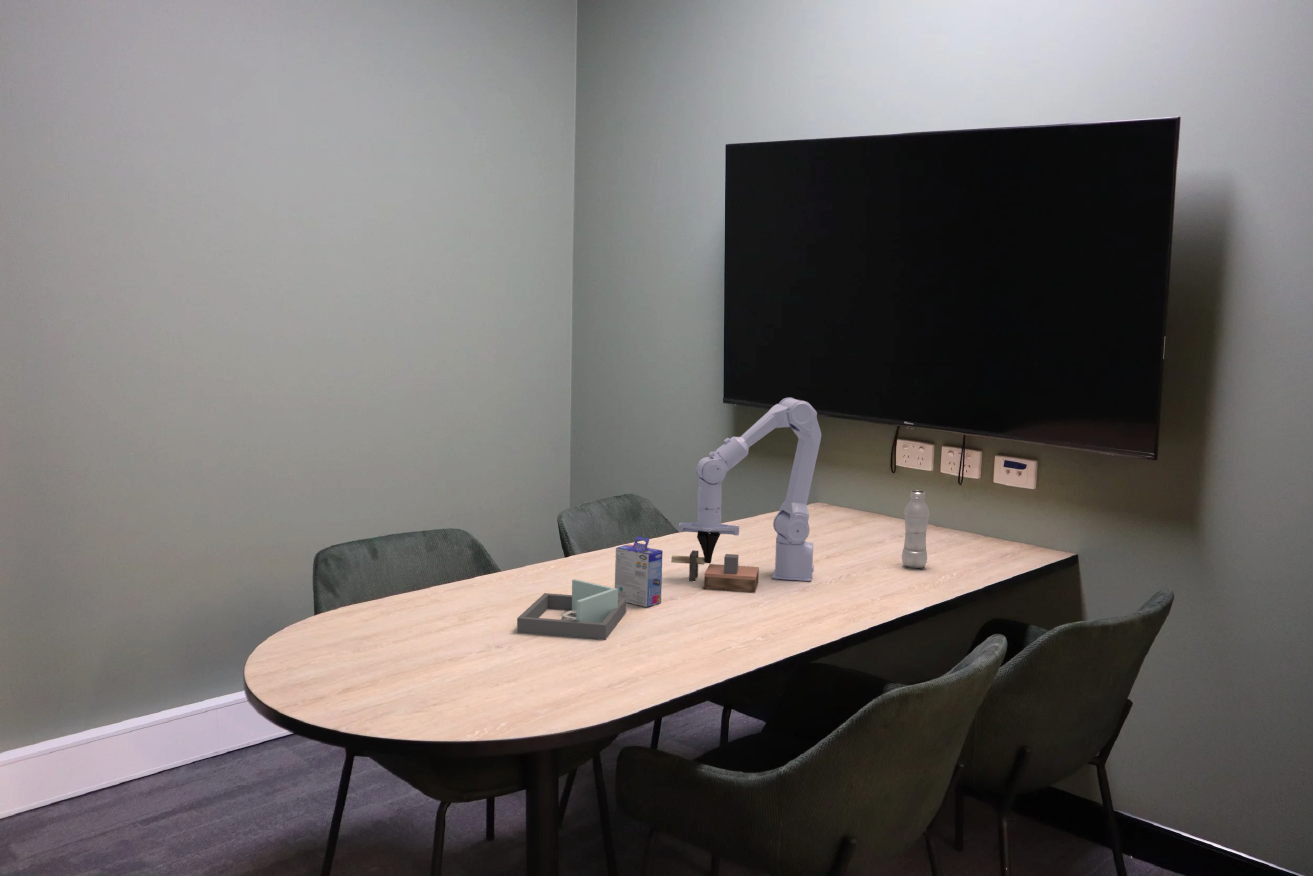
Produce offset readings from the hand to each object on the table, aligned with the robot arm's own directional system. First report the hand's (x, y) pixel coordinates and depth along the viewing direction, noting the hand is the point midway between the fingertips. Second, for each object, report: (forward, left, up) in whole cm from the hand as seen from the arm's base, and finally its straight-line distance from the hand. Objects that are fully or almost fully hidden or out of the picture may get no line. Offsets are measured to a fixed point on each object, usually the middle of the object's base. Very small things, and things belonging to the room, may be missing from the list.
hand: (708, 562), depth 243 cm
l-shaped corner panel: (+22, +39, -5) cm, 45 cm away
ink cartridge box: (+13, +21, -5) cm, 25 cm away
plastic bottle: (-50, -26, -5) cm, 57 cm away
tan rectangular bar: (+5, 0, 0) cm, 5 cm away
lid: (-6, +3, -2) cm, 8 cm away
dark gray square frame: (+23, +39, -4) cm, 46 cm away
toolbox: (-4, +3, -4) cm, 7 cm away
